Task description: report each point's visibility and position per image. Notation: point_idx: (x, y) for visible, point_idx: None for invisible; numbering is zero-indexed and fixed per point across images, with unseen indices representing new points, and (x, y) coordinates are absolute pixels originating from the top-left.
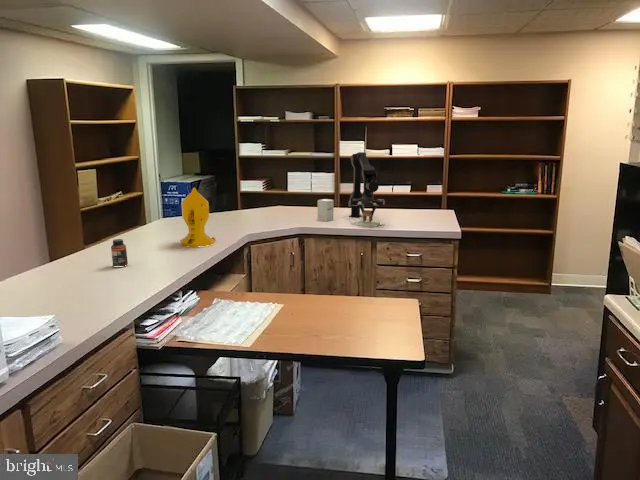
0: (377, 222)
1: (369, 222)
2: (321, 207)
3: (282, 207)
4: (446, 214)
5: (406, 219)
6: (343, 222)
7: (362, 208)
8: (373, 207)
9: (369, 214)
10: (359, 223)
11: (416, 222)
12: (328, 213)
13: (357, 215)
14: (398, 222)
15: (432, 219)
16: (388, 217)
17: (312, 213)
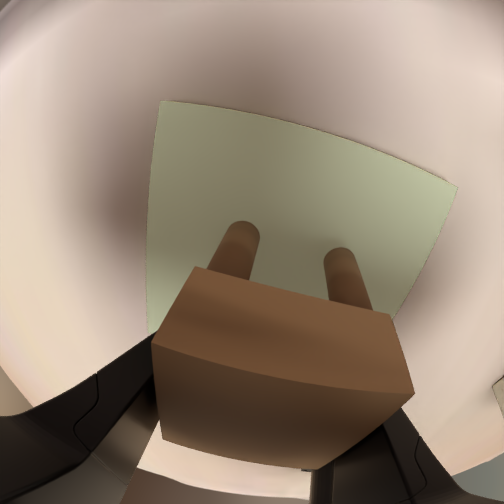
0: (159, 291)
1: None
2: None
3: (492, 457)
4: (29, 399)
5: (66, 383)
6: (485, 332)
7: (410, 480)
8: (37, 449)
9: (224, 303)
10: (403, 220)
11: (6, 315)
12: None
13: (329, 462)
14: (57, 329)
15: (8, 355)
16: (157, 434)
17: (479, 444)
